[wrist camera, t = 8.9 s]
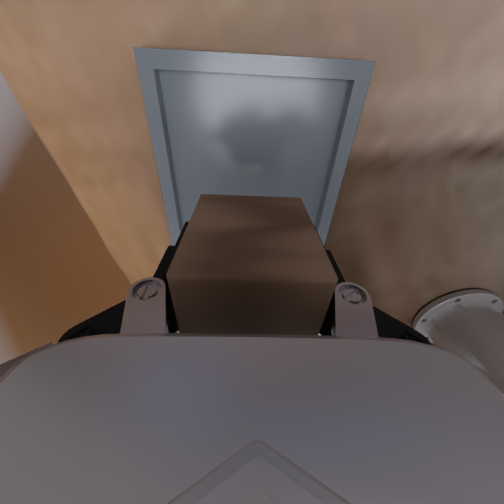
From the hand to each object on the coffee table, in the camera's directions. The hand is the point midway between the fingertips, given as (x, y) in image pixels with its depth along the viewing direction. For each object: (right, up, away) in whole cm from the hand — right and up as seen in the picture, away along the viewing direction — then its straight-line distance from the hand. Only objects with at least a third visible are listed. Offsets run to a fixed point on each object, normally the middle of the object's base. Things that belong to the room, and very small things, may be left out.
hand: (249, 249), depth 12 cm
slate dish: (0, +8, +12) cm, 14 cm away
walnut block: (0, +1, +1) cm, 1 cm away
